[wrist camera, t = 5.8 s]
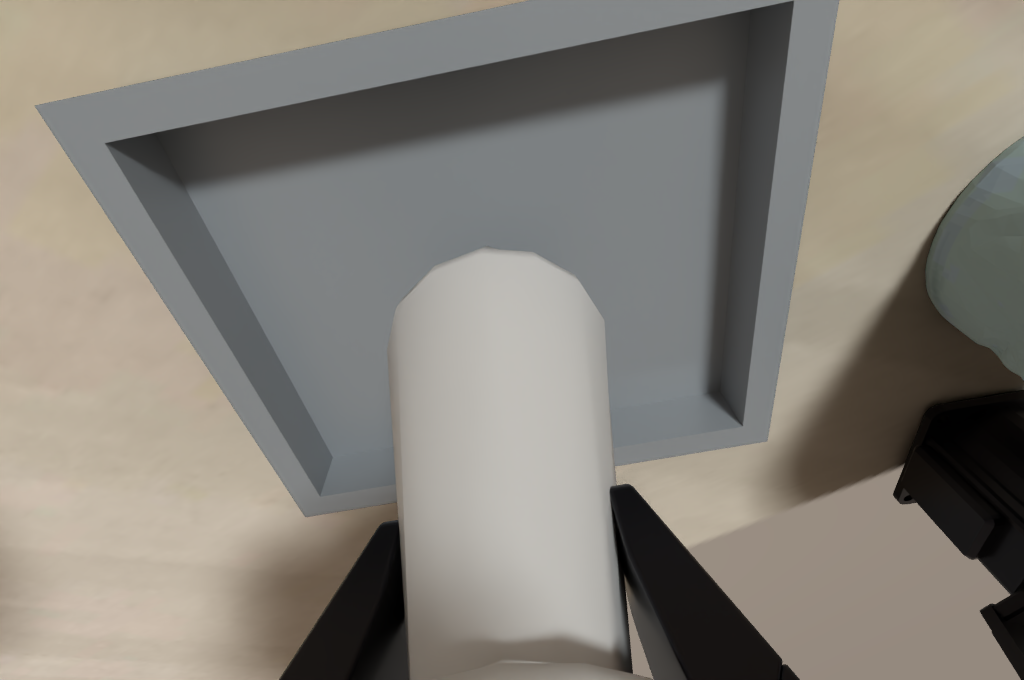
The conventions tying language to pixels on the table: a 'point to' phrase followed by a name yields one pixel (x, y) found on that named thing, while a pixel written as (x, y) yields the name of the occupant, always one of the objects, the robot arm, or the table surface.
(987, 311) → the teal cup
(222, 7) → the table surface
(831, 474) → the table surface
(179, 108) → the tray
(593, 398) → the salt shaker
